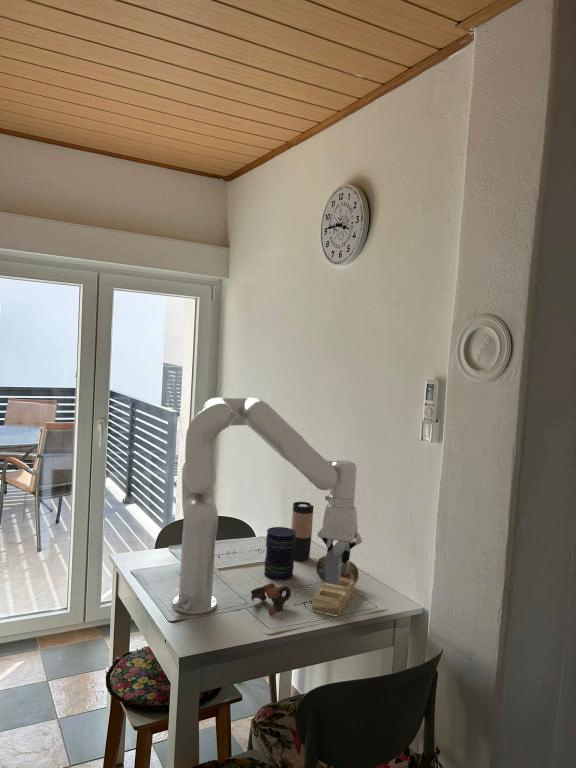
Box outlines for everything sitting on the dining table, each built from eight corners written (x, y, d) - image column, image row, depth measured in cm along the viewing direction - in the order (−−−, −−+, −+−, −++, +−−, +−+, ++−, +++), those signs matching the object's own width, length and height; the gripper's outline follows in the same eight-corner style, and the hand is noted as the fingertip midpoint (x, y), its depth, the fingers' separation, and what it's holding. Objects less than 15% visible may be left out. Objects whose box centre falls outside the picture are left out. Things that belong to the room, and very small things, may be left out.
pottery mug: (261, 619, 165) (252, 590, 167) (253, 620, 173) (244, 592, 176) (299, 604, 170) (289, 576, 172) (289, 605, 178) (280, 578, 180)
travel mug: (286, 559, 213) (290, 505, 211) (292, 553, 220) (296, 500, 219) (306, 563, 210) (310, 508, 209) (312, 556, 218) (316, 503, 217)
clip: (337, 586, 172) (339, 556, 172) (324, 584, 173) (326, 554, 173) (348, 570, 185) (350, 542, 185) (336, 568, 187) (338, 540, 186)
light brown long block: (338, 617, 169) (339, 603, 169) (311, 611, 172) (312, 597, 171) (354, 592, 188) (355, 579, 187) (330, 587, 190) (331, 574, 190)
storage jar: (282, 583, 191) (285, 538, 190) (257, 575, 196) (260, 531, 195) (298, 574, 199) (301, 531, 198) (275, 567, 204) (277, 525, 204)
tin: (315, 578, 197) (316, 553, 197) (320, 575, 200) (321, 551, 199) (354, 591, 188) (356, 565, 188) (358, 588, 191) (360, 563, 191)
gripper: (311, 500, 177) (308, 560, 178) (366, 508, 172) (362, 570, 173) (319, 495, 184) (315, 552, 185) (371, 503, 179) (367, 561, 180)
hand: (338, 560), depth 179 cm, fingers closed on clip, 4 cm apart
